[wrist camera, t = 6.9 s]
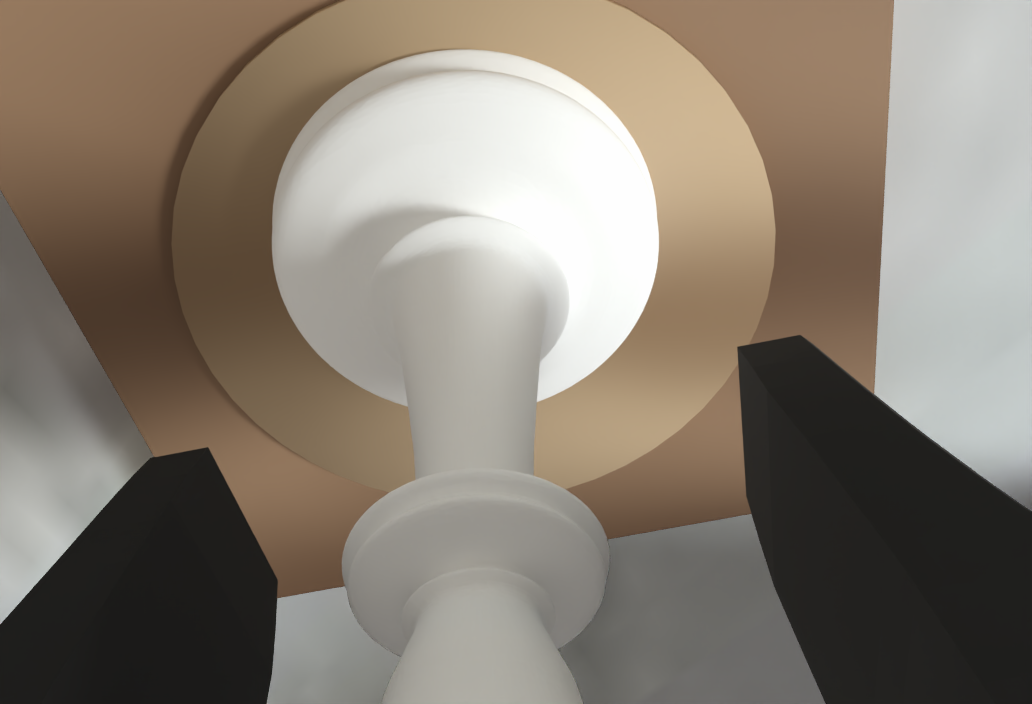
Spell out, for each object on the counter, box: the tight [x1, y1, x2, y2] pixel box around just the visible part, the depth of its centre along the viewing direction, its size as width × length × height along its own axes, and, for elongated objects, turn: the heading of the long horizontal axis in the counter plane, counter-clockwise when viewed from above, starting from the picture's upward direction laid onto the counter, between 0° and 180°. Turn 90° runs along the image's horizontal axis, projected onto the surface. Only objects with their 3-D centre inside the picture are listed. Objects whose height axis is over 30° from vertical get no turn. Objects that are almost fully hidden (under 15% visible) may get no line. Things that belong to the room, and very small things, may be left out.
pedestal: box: [0, 0, 894, 598], centre depth 13 cm, size 11×11×1 cm
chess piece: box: [272, 49, 659, 704], centre depth 8 cm, size 5×5×10 cm
